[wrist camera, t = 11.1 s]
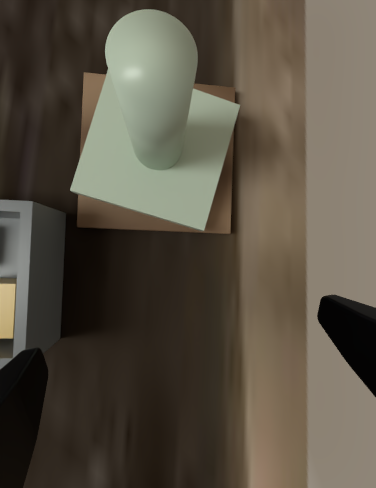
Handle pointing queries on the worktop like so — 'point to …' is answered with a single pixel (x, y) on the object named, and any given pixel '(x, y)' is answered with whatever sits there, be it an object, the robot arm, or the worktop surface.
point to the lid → (155, 125)
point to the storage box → (30, 276)
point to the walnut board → (121, 218)
